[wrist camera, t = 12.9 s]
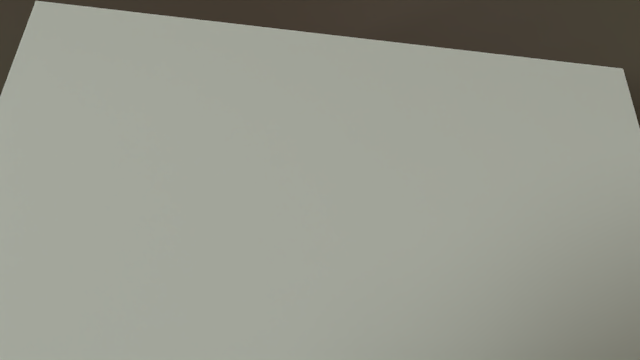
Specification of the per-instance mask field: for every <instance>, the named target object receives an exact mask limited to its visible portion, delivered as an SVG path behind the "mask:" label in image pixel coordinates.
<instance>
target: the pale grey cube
mask: <svg viewBox="0 0 640 360" xmlns="http://www.w3.org/2000/svg"><path fill="white" fill-rule="evenodd" d="M0 360H640V128H639V124H638V121H637V117H636V114H635V110H634V106H633V103H632V99H631V96H630V92H629V89H628V85H627V81H626V78H625V74H624V71H623V69H621V68H612V67H604V66H595V65H587V64H578V63H569V62H561V61H552V60H543V59H535V58H526V57H517V56H509V55H500V54H491V53H483V52H474V51H465V50H457V49H448V48H440V47H431V46H422V45H414V44H405V43H396V42H388V41H379V40H370V39H362V38H353V37H344V36H336V35H327V34H318V33H310V32H301V31H293V30H284V29H275V28H267V27H258V26H249V25H241V24H232V23H223V22H215V21H206V20H197V19H189V18H180V17H171V16H163V15H154V14H146V13H137V12H128V11H120V10H111V9H102V8H94V7H85V6H76V5H68V4H59V3H50V2H42V1H35V4H34V7H33V10H32V12H31V15H30V18H29V20H28V23H27V26H26V28H25V31H24V34H23V37H22V39H21V42H20V45H19V47H18V50H17V53H16V55H15V58H14V61H13V64H12V66H11V69H10V72H9V74H8V77H7V80H6V82H5V85H4V88H3V91H2V93H1V96H0Z"/></svg>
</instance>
